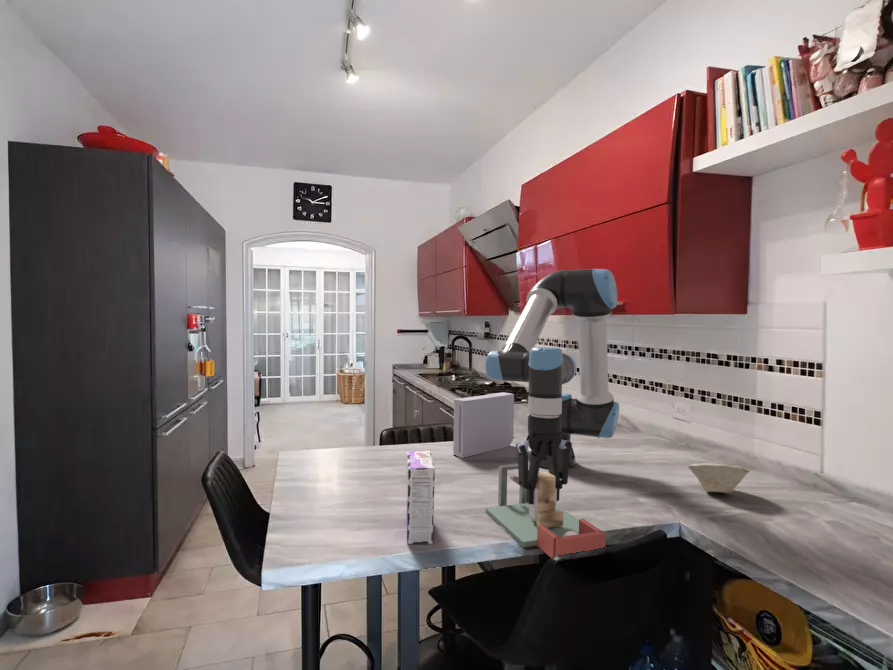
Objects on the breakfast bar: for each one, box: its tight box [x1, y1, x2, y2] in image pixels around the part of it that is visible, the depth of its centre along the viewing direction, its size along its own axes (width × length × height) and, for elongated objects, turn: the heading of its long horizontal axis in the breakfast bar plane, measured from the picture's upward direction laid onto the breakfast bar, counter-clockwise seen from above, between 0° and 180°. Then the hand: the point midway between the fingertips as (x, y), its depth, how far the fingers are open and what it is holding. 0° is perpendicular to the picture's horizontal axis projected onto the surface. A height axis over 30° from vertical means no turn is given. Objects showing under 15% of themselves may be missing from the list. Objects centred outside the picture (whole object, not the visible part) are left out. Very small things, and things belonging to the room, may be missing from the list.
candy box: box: [406, 450, 436, 545], centre depth 112 cm, size 14×6×16 cm, turn 5°
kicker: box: [508, 470, 563, 528], centre depth 120 cm, size 6×20×11 cm, turn 19°
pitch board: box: [485, 503, 579, 549], centre depth 116 cm, size 18×20×1 cm
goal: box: [536, 518, 607, 559], centre depth 103 cm, size 11×8×4 cm
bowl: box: [688, 462, 750, 494], centre depth 140 cm, size 15×14×10 cm
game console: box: [452, 391, 515, 459], centre depth 182 cm, size 6×27×20 cm, turn 133°
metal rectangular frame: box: [497, 463, 527, 506], centre depth 128 cm, size 8×2×10 cm, turn 109°
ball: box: [563, 531, 578, 537], centre depth 103 cm, size 4×4×4 cm
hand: (542, 515), depth 114 cm, fingers closed on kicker, 4 cm apart
